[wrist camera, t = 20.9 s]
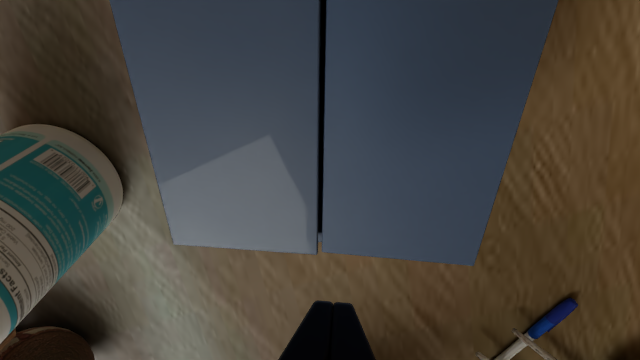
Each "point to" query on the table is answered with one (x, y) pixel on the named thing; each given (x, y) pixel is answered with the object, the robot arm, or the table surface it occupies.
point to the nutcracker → (535, 347)
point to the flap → (422, 120)
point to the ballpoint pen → (541, 327)
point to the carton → (232, 116)
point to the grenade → (45, 345)
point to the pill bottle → (48, 211)
